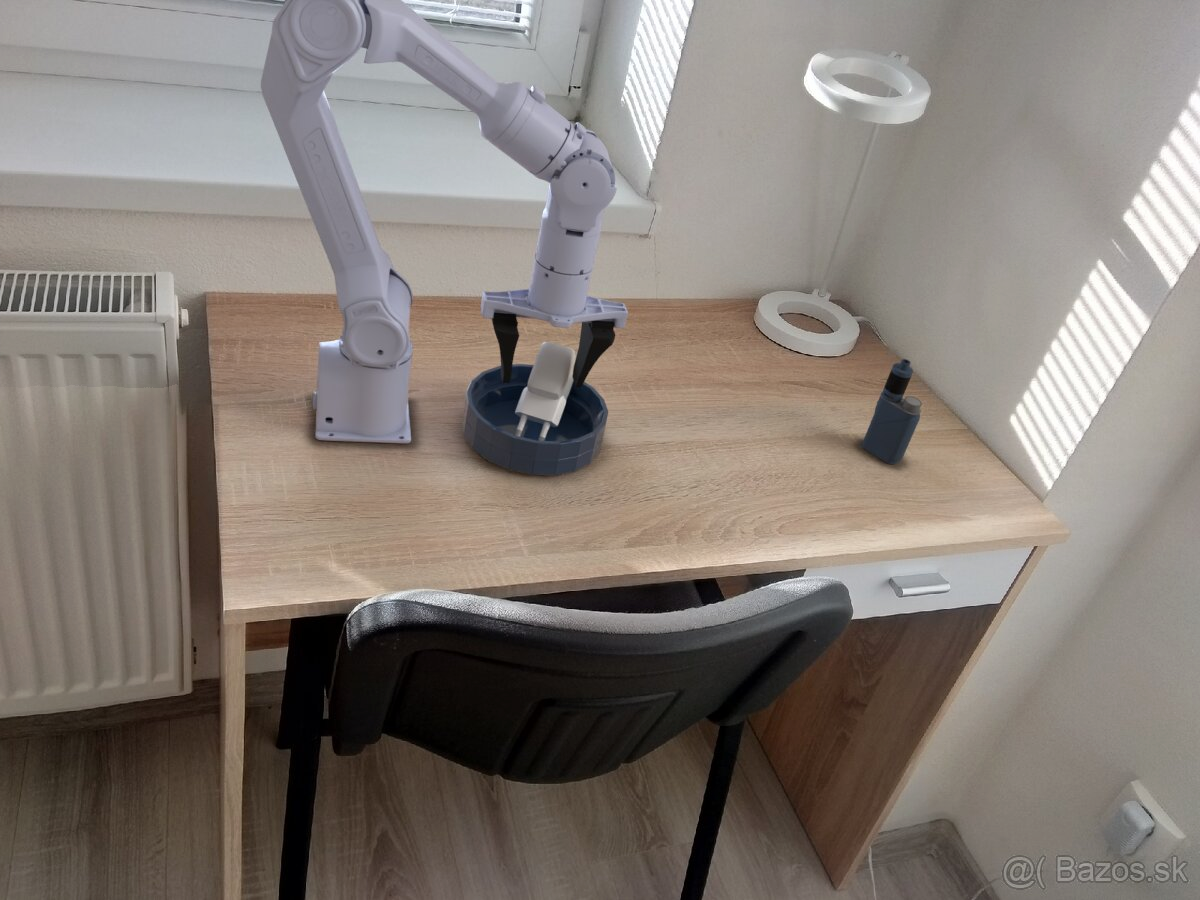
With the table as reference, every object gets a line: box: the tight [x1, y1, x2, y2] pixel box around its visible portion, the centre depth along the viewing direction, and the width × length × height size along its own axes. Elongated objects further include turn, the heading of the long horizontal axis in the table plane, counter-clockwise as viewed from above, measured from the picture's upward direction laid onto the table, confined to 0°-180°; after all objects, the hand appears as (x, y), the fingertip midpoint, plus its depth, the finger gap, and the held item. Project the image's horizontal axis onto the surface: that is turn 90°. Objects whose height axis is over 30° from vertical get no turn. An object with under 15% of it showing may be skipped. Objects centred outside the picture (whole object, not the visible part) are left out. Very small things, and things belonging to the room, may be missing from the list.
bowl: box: [461, 363, 609, 476], centre depth 112 cm, size 15×15×4 cm
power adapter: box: [514, 341, 577, 441], centre depth 112 cm, size 11×5×6 cm
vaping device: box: [860, 358, 923, 465], centre depth 120 cm, size 3×5×12 cm, turn 45°
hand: (541, 379), depth 109 cm, fingers open, 7 cm apart
